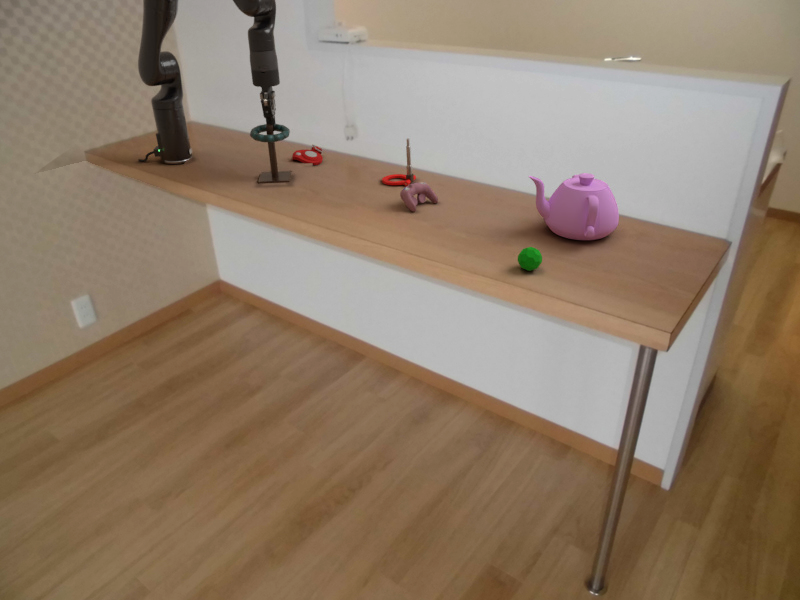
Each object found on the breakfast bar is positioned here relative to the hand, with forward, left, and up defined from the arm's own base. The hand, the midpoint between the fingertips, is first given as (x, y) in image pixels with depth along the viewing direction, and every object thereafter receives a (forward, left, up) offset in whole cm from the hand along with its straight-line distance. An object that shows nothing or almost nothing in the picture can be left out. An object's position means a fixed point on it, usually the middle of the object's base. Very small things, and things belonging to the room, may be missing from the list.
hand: (271, 129), depth 179 cm
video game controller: (+40, -30, -14) cm, 52 cm away
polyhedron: (+59, -70, -14) cm, 92 cm away
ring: (0, -4, 0) cm, 4 cm away
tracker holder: (+10, +14, -14) cm, 23 cm away
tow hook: (+36, -10, -14) cm, 40 cm away
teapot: (+74, -50, -14) cm, 91 cm away
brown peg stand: (0, -4, -14) cm, 15 cm away
